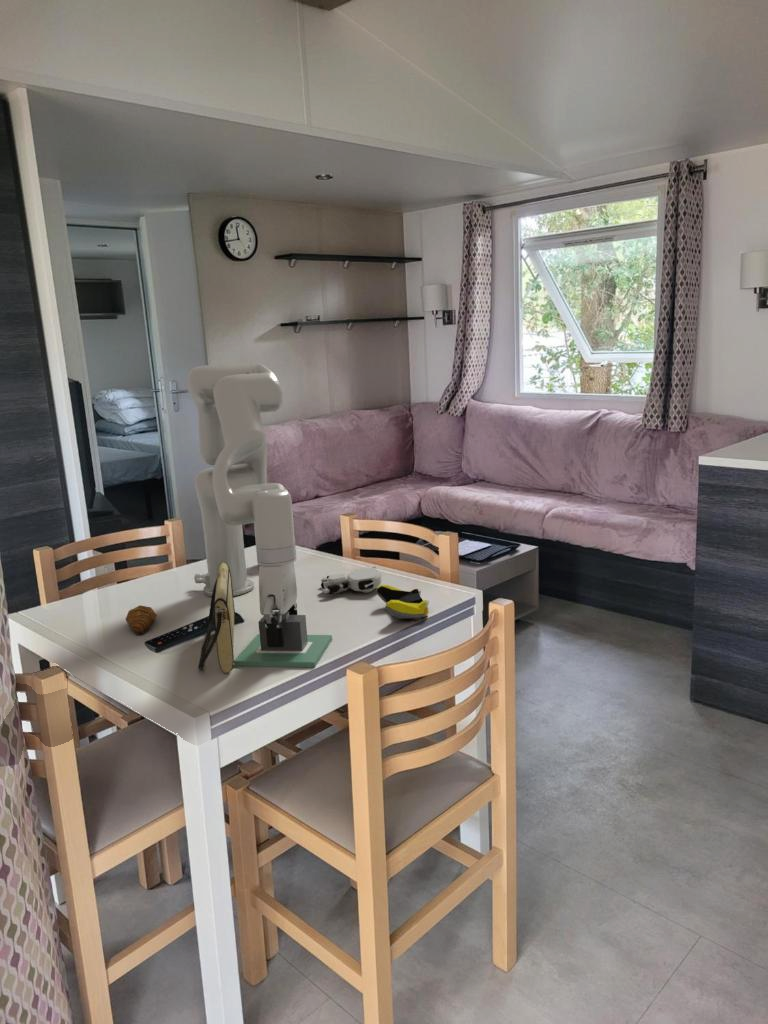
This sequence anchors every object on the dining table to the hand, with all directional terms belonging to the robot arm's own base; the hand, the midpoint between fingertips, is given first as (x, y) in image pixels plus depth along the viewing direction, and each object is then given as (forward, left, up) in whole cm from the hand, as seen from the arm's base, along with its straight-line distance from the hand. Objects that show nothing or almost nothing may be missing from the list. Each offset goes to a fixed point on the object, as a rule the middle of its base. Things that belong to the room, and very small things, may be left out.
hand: (283, 637), depth 152 cm
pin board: (0, 0, -3) cm, 3 cm away
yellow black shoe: (+21, +23, -4) cm, 31 cm away
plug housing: (0, 0, -2) cm, 2 cm away
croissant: (-38, +14, -4) cm, 40 cm away
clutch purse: (-14, 0, -4) cm, 15 cm away
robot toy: (+5, +40, -4) cm, 40 cm away
